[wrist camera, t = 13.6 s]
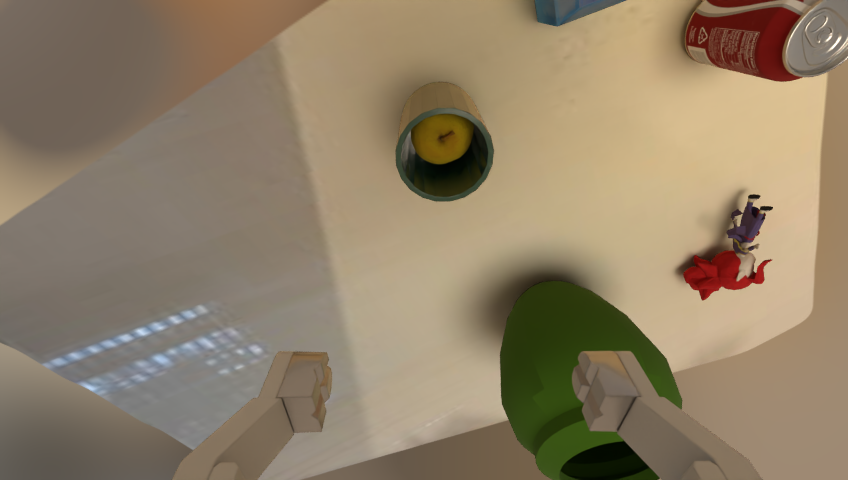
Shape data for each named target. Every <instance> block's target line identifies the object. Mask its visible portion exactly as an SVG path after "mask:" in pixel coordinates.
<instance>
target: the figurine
mask: <svg viewBox="0 0 848 480" xmlns="http://www.w3.org/2000/svg"><path fill="white" fill-rule="evenodd" d="M759 198H760V195H749V196H748V202H747V206H746V207H745V210H744V213H742V212H741V211H739V210H738V209H737V210H735V211H734V212H732V214H731V219H732V220H734V217H735V216H738V215H741V214H743V215H742V219H741V224H740V226H739V227H737V219H735V220H734V221H733V223H734V228H732V229H730V230H727V234H728V238H733V249H732V250H726V251H723V252H720V253H718V254H717V255H716V256H715V257H714V258H713V259H712V261H711V262H710V261H708V260H704V259H701V258H699V257H698V256H697V255H695V256H694V264H695V266H696V267H690V268H688V269H687V270H686V271H685V272H684V274H683V276H684V279H685V281H686V283H688V284H690V286H691V288H692V289H694V290H699V293H700V296H701V299H702V300H705V299H707V298H708V297H709V296H710V294H711V293H712V292H714V291H718V290H719V288H721V287H724V288H726V289H731V290H737V289H743V288H745V287H747V286H749V285H750V284H751V283H752V282H753V283H755V284H762V283H763V281H764V272H763V269H764V266H765V265H766V264H767V263H768V262H770V261H772V260H765V261H763V262H762V263H761V264H760V265H759V266H758V268H757V273H755V272H754V271H753V270H754V262H755V260H756V259H755V257H754V255H753V254H752V253H750V252H749V251H751V250H753V249H755V248H756V249H758V248H759V247H758V245H759V244H756V245H754V246H751V243H752V242H753V240H754V238H755V235H756V234H757V233H758V234H757V235H756V236H758V235H759V229H760V227H761V225H762V223H763V221H764V219H765V216H766V214H765V212H767V211H770V210H772V209H773V207H770V206H761V207H760V210H759V209H758V208H756V207H752V205H753V202H754V201H755V200H757V199H759Z"/></svg>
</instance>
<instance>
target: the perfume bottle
mask: <svg viewBox="0 0 848 480" xmlns="http://www.w3.org/2000/svg"><path fill="white" fill-rule="evenodd" d="M623 1H626V0H535V7H536V13H537V20H538V22H540V23H544V24H549V25H553V26H560V25H562V24H565V23H568V22H570V21H573V20H576V19H578V18H581V17H584V16H586V15H589V14H591V13H594V12H597V11H599V10H602V9H605V8H607V7H610V6H613V5H615V4H618V3H621V2H623Z"/></svg>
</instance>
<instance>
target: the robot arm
mask: <svg viewBox="0 0 848 480" xmlns="http://www.w3.org/2000/svg"><path fill="white" fill-rule="evenodd" d="M328 361H329V358H328V354H327V352H289V351H279V352H278V353H277V355H276V356H275V358H274V360H273V363H272V365H271V368H270V370H269V372H268V375H267V377H266V380H265V382H264V385H263V387H262V389H261V392H260V394H259V397H258V398H253V399H252V400H250V401H249V402H248V403H247V404H246V405H245V406H244V407H242V408H241V409H240V410H239V411H238V412H237V413H236V414H234V415H233V416H232V417H231V418H230V419H229V420H228V421H226V422H225V423H224V424H223V425H222V426H221V427H220V428H218V429H217V430H216V431H215V432H214V433H213V434H212V435H210V436H209V437H208V438H207V439H206V440H205V441H204V442H202V443H201V444H200V445H199V446H198V447H197V448H196V449H194V450H193V451H192V452H191V453H190V454H189V455H188V456H186V457H185V458H184V459H183V460H182V461H181V463H180V465H179V467H178V468H177V470H176V472H175V474H174V476H173V478H172V480H257V479H258V478H259V477H260V475H261V474H262V473H263V472H264V471H265V469H266V468H267V467H268V466H269V464H270V463H271V462H272V461H273V460H274V458H275V457H276V456H277V455H278V453H279V452H280V451H281V450H282V449H283V447H284V446H285V445H286V444H287V442H288V441H289V440H290V439H291V438H292V436H293V435H294V433H299V432H322V428H323V423H324V419H325V415H326V408H325V402H326V401H327V400H328V399H329V398H330V393H331V387H332V371H331V368H330V367H329V366H327V365H328ZM578 361H579V363H580V364H579V365H577V366H576V367H574V370H573V373H572V384H573V389H574V392H575V395H576V397H577V398H578V399H579V400H580V401H581V402H582V403H583V404H584V405H583V408H582V413H583V415H584V418H585V420H586V423H587V425H588V428H589V430H590V431H609V432H617V434H618V435H619V436H620V437H621V438H622V439H623V440H624V441H625V442H626V443H627V444H628V445H629V446H630V447H631V448H632V449H633V450H634V451H635V452H636V453H637V454H638V456H639V457H640V458H641V459H642V460H643V461H644V462H645V463H646V464H647V465H648V466H649V467H650V468H651V469H652V470H653V471H654V472H655V473H656V474H657V475H658V476H659V477H660V478H661V479H662V480H762V478H761V477H760V475H759V474H758V472H757V471H756V469H755V468H754V467H753V465H752V464H751V462H750V461H749V460H748V459H747V458H746V457H744V456H743V455H742V454H740V453H739V452H738V451H736V450H735V449H733V448H732V447H731V446H729V445H728V444H727V443H725V442H724V441H723V440H721V439H720V438H719V437H717V436H716V435H715V434H713V433H712V432H711V431H709V430H708V429H707V428H705V427H704V426H702V425H701V424H700V423H698V422H697V421H696V420H694V419H693V418H691V417H690V416H689V415H688V414H686V413H685V412H684V411H682V410H681V409H680V408H678V407H677V406H676V405H674V404H673V403H671V402H670V401H669V400H667V399H666V398H665V397H659V396H658V394H657V392H656V391H655V389H654V387H653V386H652V384H651V382H650V381H649V379H648V377H647V376H646V374H645V372H644V371H643V369H642V367H641V366H640V364H639V362H638V361H637V359H636V358H635V356H634V354H633V353H632V352H630V351H582V352H581V353H580V354H579V356H578Z"/></svg>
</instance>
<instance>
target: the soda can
mask: <svg viewBox="0 0 848 480" xmlns="http://www.w3.org/2000/svg"><path fill="white" fill-rule="evenodd" d="M685 47H686V51H687V53H688V55H689V56H690V57H691V58H692V59H693V60H695V61H697V62H699V63H703V64H707V65H711V66H715V67H719V68H723V69H728V70H732V71H736V72H740V73H744V74H748V75H753V76H757V77H761V78H765V79H769V80H774V81H781V82H783V81H792V80H796V79H800V78H802V77H814V76H818V75H821V74H824V73H826V72H828V71H830V70H832V69H834V68H836V67H837V66H839V65H840V64H841V63H843V62H844V61H845V60H847V59H848V0H703V1H702V2H701V3H700V5H699V6H698V7H697V8H696V10H695V11H694V13H693V14H692V16H691V18H690V20H689V22H688V25H687V28H686V32H685Z"/></svg>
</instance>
